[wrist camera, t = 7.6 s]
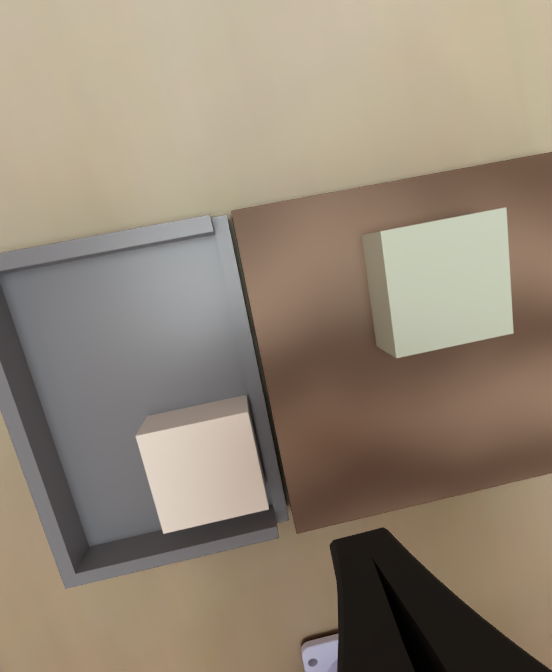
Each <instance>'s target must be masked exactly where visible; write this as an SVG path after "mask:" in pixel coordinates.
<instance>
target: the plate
mask: <svg viewBox="0 0 552 672" xmlns="http://www.w3.org/2000/svg"><path fill="white" fill-rule="evenodd" d="M505 207H506V210H507V227H508V244H509V262H510V279H511V297H512V314H513V332H514V333H513V334H508V335H503V336H499V337H494V338H489V339H485V340H480V341H475V342H471V343H466V344H461V345H456V346H452V347H447V348H442V349H438V350H433V351H428V352H424V353H419V354H414V355H410V356H405V357H400V358H395V357H393V356H392V355H390V354H388V353H387V352H385V351H384V350H382V349H380V348H379V347H377V346H376V338H375V331H374V324H373V316H372V309H371V301H370V294H369V287H368V279H367V272H366V264H365V257H364V250H363V242H362V235H365V234H370V233H375V232H380V231H385V230H390V229H395V228H401V227H406V226H411V225H416V224H422V223H427V222H432V221H437V220H442V219H448V218H453V217H458V216H463V215H469V214H474V213H479V212H484V211H490V210H495V209H500V208H505ZM231 213H232V220H233V225H234V230H235V235H236V240H237V245H238V250H239V254H240V259H241V264H242V269H243V274H244V279H245V284H246V289H247V294H248V299H249V304H250V309H251V314H252V319H253V324H254V328H255V333H256V338H257V343H258V348H259V353H260V358H261V363H262V368H263V373H264V378H265V383H266V388H267V393H268V398H269V402H270V407H271V412H272V417H273V422H274V427H275V432H276V437H277V442H278V447H279V452H280V457H281V462H282V467H283V471H284V476H285V481H286V486H287V491H288V496H289V501H290V506H291V511H292V515H293V520H294V524H295V529H296V533H297V534H298V533H302V532H306V531H310V530H315V529H319V528H323V527H327V526H331V525H336V524H340V523H344V522H348V521H352V520H357V519H361V518H365V517H369V516H373V515H378V514H382V513H386V512H390V511H394V510H399V509H403V508H407V507H411V506H415V505H420V504H424V503H428V502H432V501H436V500H441V499H445V498H449V497H453V496H457V495H462V494H466V493H470V492H474V491H478V490H483V489H487V488H491V487H495V486H499V485H504V484H508V483H512V482H516V481H520V480H525V479H529V478H533V477H537V476H541V475H546V474H550V473H552V152H549V153H544V154H538V155H533V156H528V157H522V158H517V159H511V160H506V161H500V162H495V163H489V164H484V165H478V166H473V167H468V168H462V169H457V170H451V171H446V172H440V173H435V174H429V175H424V176H418V177H413V178H408V179H402V180H397V181H391V182H386V183H380V184H375V185H369V186H364V187H358V188H353V189H348V190H342V191H337V192H331V193H326V194H320V195H315V196H309V197H304V198H298V199H293V200H288V201H282V202H277V203H271V204H266V205H260V206H255V207H249V208H244V209H238V210H233V211H231Z"/></svg>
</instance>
